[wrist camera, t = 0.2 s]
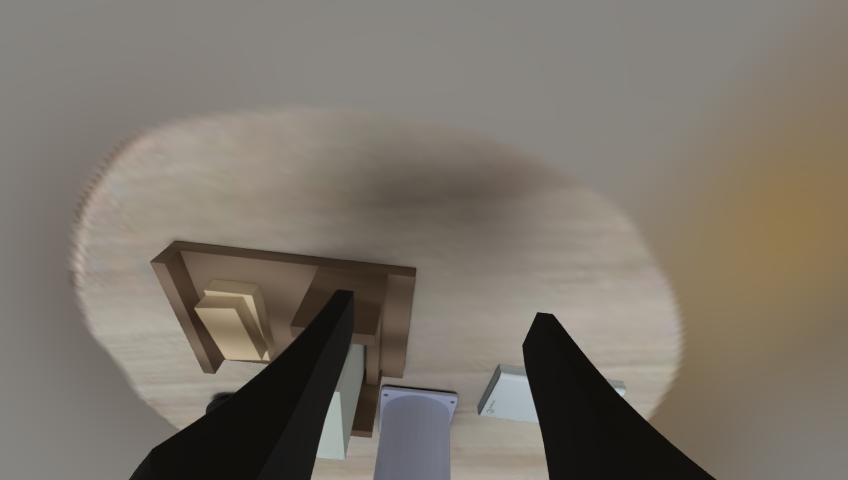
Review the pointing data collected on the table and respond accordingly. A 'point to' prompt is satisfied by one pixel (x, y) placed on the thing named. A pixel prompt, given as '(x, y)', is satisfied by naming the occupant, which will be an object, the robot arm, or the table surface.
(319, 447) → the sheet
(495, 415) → the hard drive
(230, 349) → the offcut stack
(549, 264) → the table surface
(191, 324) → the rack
